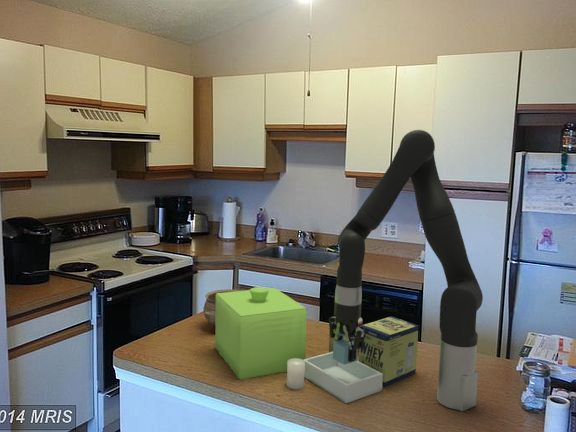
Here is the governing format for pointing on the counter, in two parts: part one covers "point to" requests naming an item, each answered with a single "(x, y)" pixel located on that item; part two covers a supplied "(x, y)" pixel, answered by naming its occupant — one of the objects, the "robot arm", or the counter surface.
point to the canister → (259, 331)
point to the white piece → (295, 373)
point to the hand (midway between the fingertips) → (345, 357)
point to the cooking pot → (213, 304)
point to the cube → (342, 351)
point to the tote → (343, 377)
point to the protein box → (390, 348)
